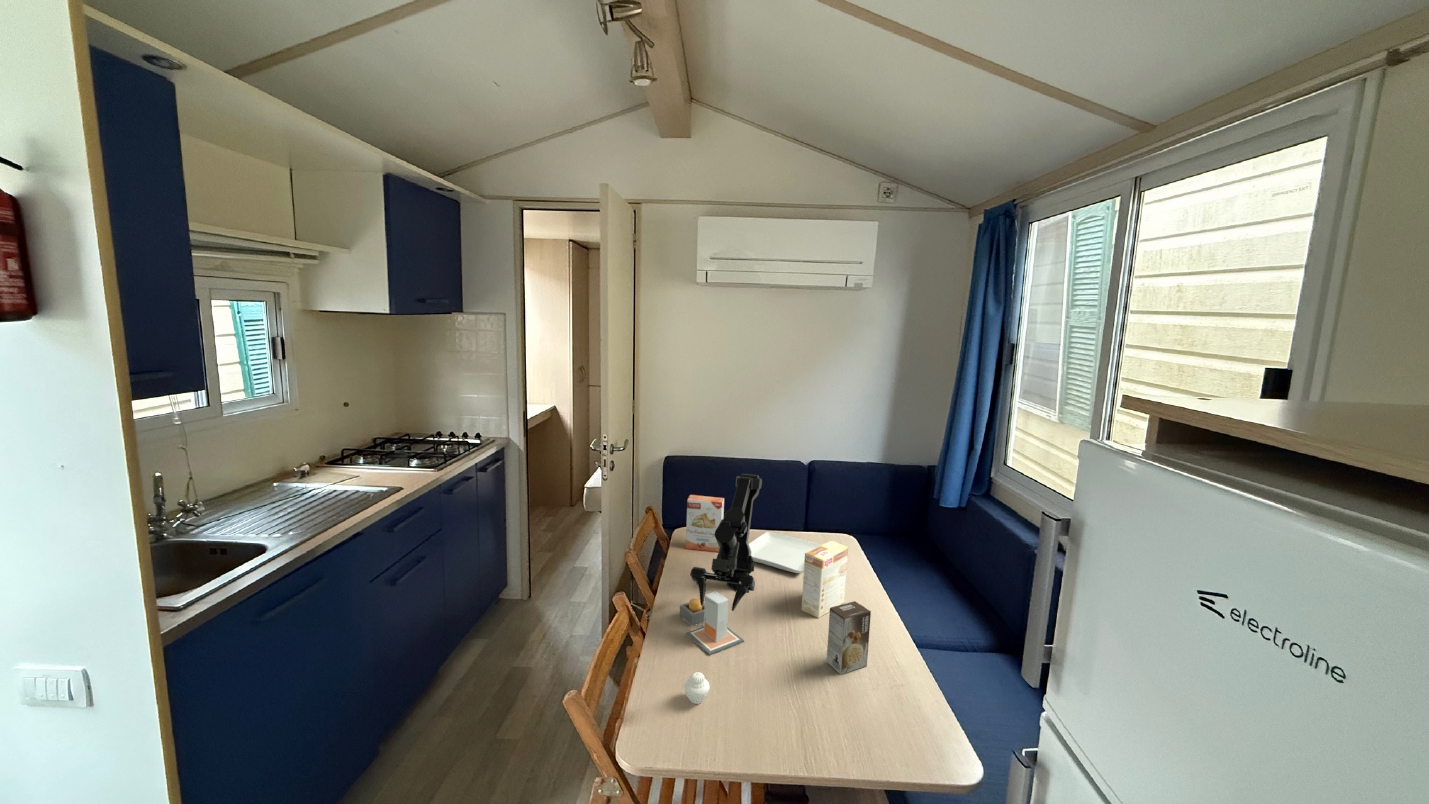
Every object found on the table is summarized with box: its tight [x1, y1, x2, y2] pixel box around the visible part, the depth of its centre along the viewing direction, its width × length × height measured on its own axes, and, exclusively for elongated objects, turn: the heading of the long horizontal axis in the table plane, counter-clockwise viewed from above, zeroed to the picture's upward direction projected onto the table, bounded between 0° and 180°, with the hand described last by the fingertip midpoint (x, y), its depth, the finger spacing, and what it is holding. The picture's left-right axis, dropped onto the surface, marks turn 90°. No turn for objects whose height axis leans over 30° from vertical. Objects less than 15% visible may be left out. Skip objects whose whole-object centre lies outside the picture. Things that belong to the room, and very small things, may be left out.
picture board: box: [685, 625, 745, 656], centre depth 161 cm, size 12×12×1 cm
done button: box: [688, 598, 702, 613], centre depth 171 cm, size 4×4×3 cm
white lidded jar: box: [683, 671, 711, 705], centre depth 134 cm, size 6×6×7 cm
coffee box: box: [826, 600, 872, 675], centre depth 150 cm, size 9×6×16 cm
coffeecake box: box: [801, 540, 849, 619], centre depth 179 cm, size 15×7×20 cm, turn 134°
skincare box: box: [703, 591, 729, 642], centre depth 160 cm, size 6×4×12 cm
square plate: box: [748, 531, 822, 574], centre depth 217 cm, size 27×27×4 cm
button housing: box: [679, 601, 705, 627], centre depth 171 cm, size 7×7×4 cm
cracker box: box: [685, 494, 725, 553], centre depth 220 cm, size 14×6×21 cm, turn 80°
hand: (716, 607), depth 160 cm, fingers open, 9 cm apart
